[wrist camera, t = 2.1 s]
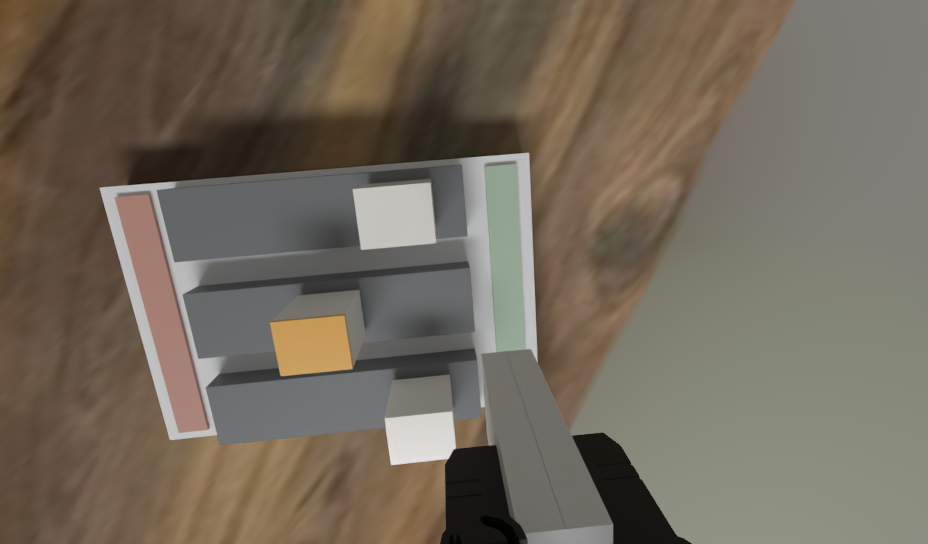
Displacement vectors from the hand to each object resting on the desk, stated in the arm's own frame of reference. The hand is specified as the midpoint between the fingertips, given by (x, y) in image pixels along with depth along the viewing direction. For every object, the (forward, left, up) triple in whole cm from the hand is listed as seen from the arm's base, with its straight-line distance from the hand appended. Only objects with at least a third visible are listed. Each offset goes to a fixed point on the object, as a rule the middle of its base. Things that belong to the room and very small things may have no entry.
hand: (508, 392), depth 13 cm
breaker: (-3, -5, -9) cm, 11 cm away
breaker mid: (-7, 0, -9) cm, 12 cm away
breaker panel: (-7, 0, -13) cm, 15 cm away
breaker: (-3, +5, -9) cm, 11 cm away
